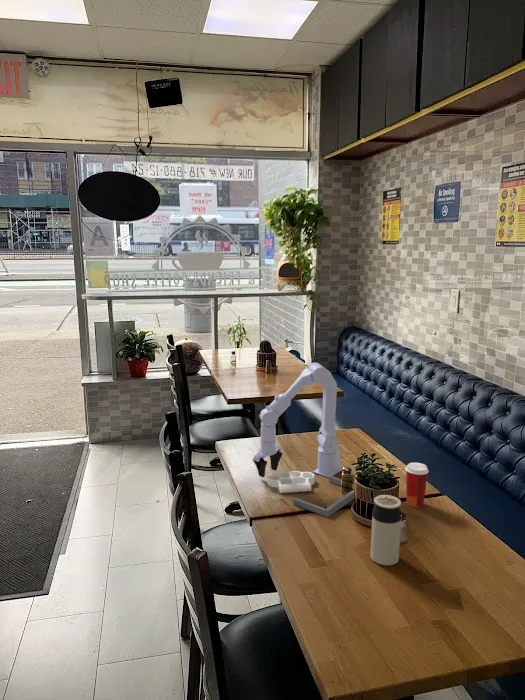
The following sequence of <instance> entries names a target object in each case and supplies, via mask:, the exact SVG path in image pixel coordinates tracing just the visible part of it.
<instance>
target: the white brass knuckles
mask: <svg viewBox="0 0 525 700" xmlns="http://www.w3.org/2000/svg"><path fill="white" fill-rule="evenodd" d="M315 477H316V476H315V474H314V472H311V471H299V470H291V471H284V470H283V471H280V472H278V473H270V474H269V473H268V475H267V477H266V479H267V484H268V485H269V486H268V485H267V486H268V487H270V486H271V487H270V488H273V487H276V488H275V489H277V488H278V489H277V491H278V490H280V493H279V494H284V493H286V494H287V493H301V492H302V493H304V492H308V491H309V492H312V486H313V485H315Z"/></svg>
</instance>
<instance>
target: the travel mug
mask: <svg viewBox="0 0 525 700" xmlns="http://www.w3.org/2000/svg"><path fill="white" fill-rule="evenodd" d="M373 502H374V507H372V514H371V515H372V517H371V518H372V519H371V536H370V537H371V539H370V556H369V557H370V559H371V560H372V561H373V562H374V563H376V564H378V565H381V566H393V565H396V564H397V563H398V562H399V559H400V543H401V529H402V527H401V526H402V511H401V509H400V508H401V505H402V501H401V499H399V498H398V497H396V496H395V495H394V496H393V495H389V494H380V495H376V496H375V497H374V499H373Z"/></svg>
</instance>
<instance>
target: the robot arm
mask: <svg viewBox="0 0 525 700" xmlns="http://www.w3.org/2000/svg"><path fill="white" fill-rule="evenodd" d="M315 383H316V384H318V385H320V386H321V387H323V388H322V392H323V393H322V407H321V408H322V409H321V426H320V427H319V431H318V434H317V436H316V442H317V444H318V448H317V467H316V469H314V470H313V471H312V473H313V474H314V473H315V474H318V475H320V476H324V477H326V478H329V477H330V476H333V477H334V476H335V475H336V474H338V473H340V472H341V471H343V469H342V468H341V455H342V454H341V452H340V450H339V442H338V438H337V437H338V436H337V435H338V434H337V433H336V431H337V430H336V412H337V411H336V410H337V393H338V383H337V381H336V379H335V378H334V376H333V375H332V372H331V371H330V370H328V369H327V368H326V367H324V366H323V365H321V363H319V362H311V363H309V365H308V366H307V367H305V368H304V369H303V370H302V372H301V374H300V375H299V376H298V377H297V379H295V381H294V382H293V383H292V384H291V386H290V387H288V389H287V390H286V391H285V392H284V393H280V394H278V395H275V396H274V399H273V401H272V402H271V403H270V404H269V405H266V406H265V408H263V409H262V410H261V411H260V414H258V417H259V419H260V420H261V421H260V448H258V452H257V453H256V454H255V455H253V458H252V461H253V463H254V464H255V466H256V469H257V473H258V475H259V477H262V478H265V476H266V475H265V474H266V469H267V464H268V461H267V460H265V459H264V458H266V457H269V459H270V469H271V471H272V470H273V471H277V469H278V466H279V462H280V460H281V458H282V457H283V452H282V445H279V444H277V443H276V442H277V441H276V438H277V437H276V432H277V429H276V425H277V423H278V421H279V417H280V416H282V414H283V413H284V412H285V411H286V410H287V409H288V408H289V407H290V406H291V405H292V403H291V401H292V399H294V398H295V397H296V395H297V394H299V393H300V392H301V391H302V390H303V389H304V388H305V387H306V386H314V385H315Z"/></svg>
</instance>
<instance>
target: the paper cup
mask: <svg viewBox="0 0 525 700" xmlns="http://www.w3.org/2000/svg"><path fill="white" fill-rule="evenodd" d="M404 470H405V471H406V472H405V473H406V480H405V481H406V482H405V483H406V487H405V488H406V504H407V506H409V507H410V508H415V509H420V508H422V507H423V506H424V503H425V502H424V501H425V495H426V489H427V488H426V487H427V479H428V473H429V469H428V466H427V465H426V464H424V463H420V462H410V463H408V464H407V465H406V466H405V468H404Z"/></svg>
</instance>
